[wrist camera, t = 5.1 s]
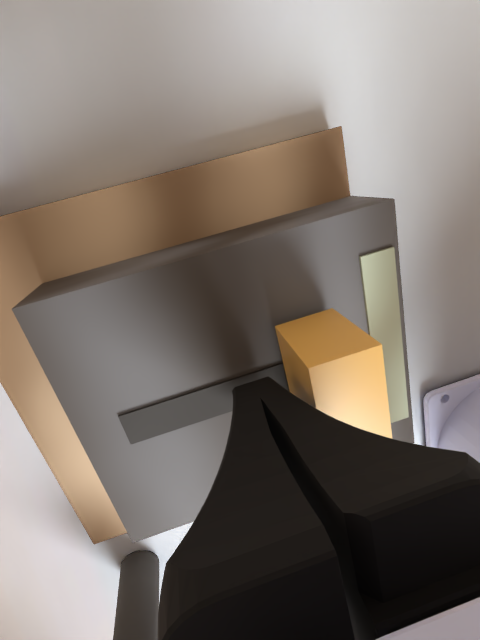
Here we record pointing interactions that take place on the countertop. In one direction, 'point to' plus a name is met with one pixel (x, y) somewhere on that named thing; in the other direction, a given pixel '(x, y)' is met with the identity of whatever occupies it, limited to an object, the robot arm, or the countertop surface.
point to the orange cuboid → (336, 369)
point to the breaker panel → (125, 236)
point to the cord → (138, 598)
